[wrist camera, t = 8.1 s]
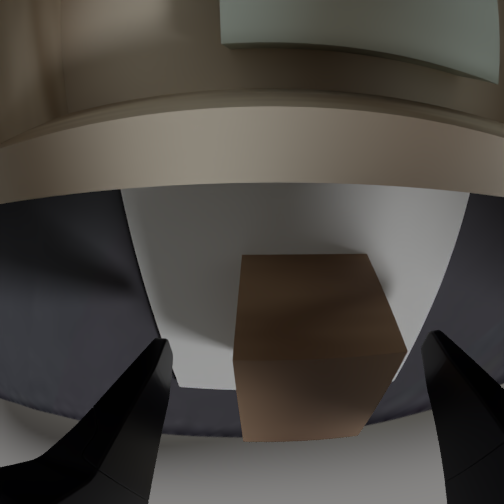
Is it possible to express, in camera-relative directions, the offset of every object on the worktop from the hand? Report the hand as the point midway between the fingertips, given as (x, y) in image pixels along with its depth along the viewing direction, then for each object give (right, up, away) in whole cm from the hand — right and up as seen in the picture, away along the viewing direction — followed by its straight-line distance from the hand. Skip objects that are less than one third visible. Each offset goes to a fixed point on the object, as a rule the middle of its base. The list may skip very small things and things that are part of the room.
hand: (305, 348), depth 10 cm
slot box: (+1, +11, -5) cm, 12 cm away
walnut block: (0, +1, +1) cm, 2 cm away
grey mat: (0, +1, +2) cm, 2 cm away
